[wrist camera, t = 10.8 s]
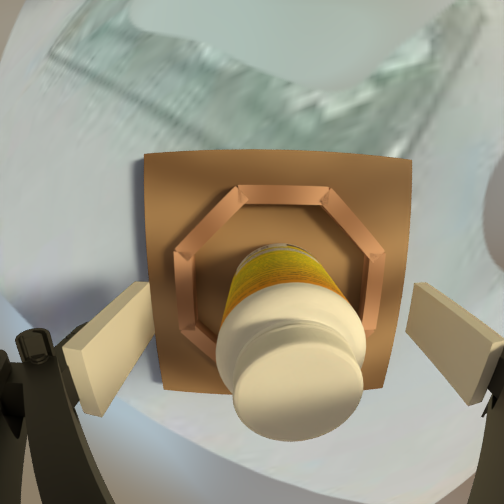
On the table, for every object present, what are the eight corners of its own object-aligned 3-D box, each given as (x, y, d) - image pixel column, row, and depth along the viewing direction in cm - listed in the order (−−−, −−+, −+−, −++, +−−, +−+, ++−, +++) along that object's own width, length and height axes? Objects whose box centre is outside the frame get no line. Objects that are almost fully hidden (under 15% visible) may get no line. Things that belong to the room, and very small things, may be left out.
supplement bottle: (215, 266, 18) (167, 361, 8) (302, 224, 17) (360, 278, 7) (257, 343, 19) (255, 472, 9) (338, 306, 18) (403, 416, 8)
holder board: (150, 155, 18) (137, 152, 16) (403, 160, 17) (419, 159, 15) (167, 380, 21) (160, 397, 19) (377, 379, 21) (386, 395, 19)
